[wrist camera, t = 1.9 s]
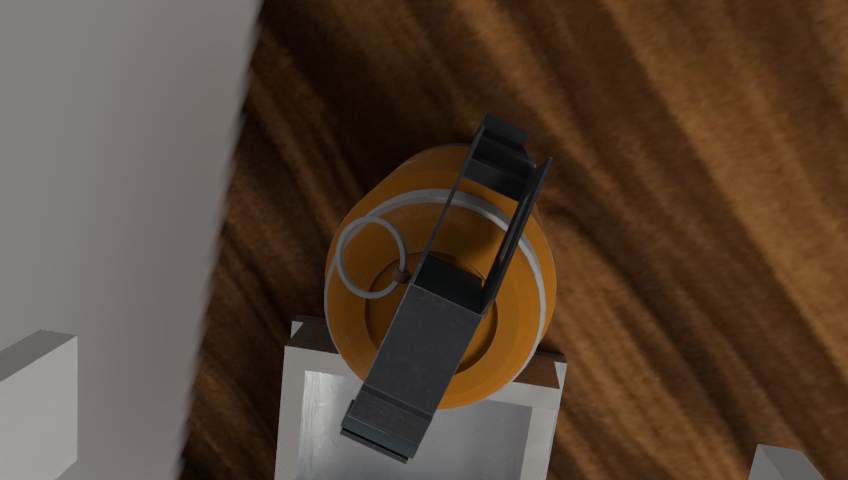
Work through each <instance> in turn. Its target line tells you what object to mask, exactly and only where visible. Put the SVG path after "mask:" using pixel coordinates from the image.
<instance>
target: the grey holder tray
mask: <svg viewBox="0 0 848 480" xmlns="http://www.w3.org/2000/svg"><path fill="white" fill-rule="evenodd" d="M566 368H567V361H566V357H565V355H560V354H554V353H547V352H541V351H535V353H534V355H533V356H532V358H531V359H530V361H529V362H528V364H527V366H526V367H525V368H524V369H523V371H522V372H521V373H520V374H519V375H518V376H517V377H516V378H515V379H514V380H513V381H512V382H511V383H510V384H508V385H507V386H506V387H505V388H503V389H502V390H501V391H499V392H497V393H495V394H494V395H492V396H490V397H488V398H487V399H484V400H481V401H479V402H476V403H474V404H471V405H466V406H462V407H457V408H452V409H437V410H436V412H435V414H434V416H433V419H432V421H431V424H430V426H429V428H428V430H427V432H426V434H425V436H424V438H423V440H422V441H421V443H420V445H419V448H418V450H417V452H416V454H415V456H414V457H413V459H411V458H408V462H407V464H403V463H401V462H399V461H397V460H395V459H393V458H390V457H388V456H386V455H384V454H382V453H380V452H377V451H375V450H373V449H371V448H369V447H367V446H364V445H362V444H360V443H358V442H356V441H354V440H351V439H349V438H347V437H345V436H343V435H341V434H339V433H340V431H341V429H342V427H341V426H340V424H341V422H342V420H343V418H344V416H345V414H346V411H347V409H348V407H349V405H350V403H351V401H352V399H354V400H355V398H356V396H357V394H358V393H359V391H360V389H361V386H362V384H363V381H362V380H360V379H359V378H358V376H357V375H356V374H355V373H354V372H353V371H352V370H351V369H350V368H349V367H348V366H347V364H346V363H345V361H344V360H343V359H342V357H341V356H340V354H339V353H338V351H337V349H336V347H335V345H334V343H333V341H332V338H331V335H330V332H329V329H328V326H327V322H326V318H320V317H314V316H307V315H301V314H298V315H297V316H296V317H295V318H294V319H293V320H292V329H291V339H290V340H289V341H288V343H287V344H286V345H285V352H284V365H283V378H282V391H281V403H280V416H279V429H278V442H277V454H276V467H275V480H546V475H547V469H548V464H549V459H550V453H551V448H552V442H553V437H554V432H555V426H556V421H557V416H558V410H559V405H560V400H561V394H562V389H563V384H564V378H565V373H566Z"/></svg>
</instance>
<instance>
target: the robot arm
mask: <svg viewBox="0 0 848 480" xmlns="http://www.w3.org/2000/svg"><path fill="white" fill-rule="evenodd" d="M76 460H77V335H70V334H64V333H58V332H52V331H45V330H39V331H37V332H35V333H33V334H32V335H30V336H28V337H26V338H24V339H22V340H21V341H19V342H17V343H15V344H13V345H11V346H9V347H8V348H6V349H4V350H2V351H0V480H55V479H56V478H57V477H59V476H60V475H61V474H62V473H63V472H64V471H65V470H66V469H67V468H69V467H70V466H71V465H72V464H73V463H74V462H75V461H76ZM748 480H825V479H824V478H823V477H822V476H821V475H820V473H819V472H818V471H817V470H816V469H815V467H814V466H813V465H812V464H811V463H810V461H809V460H808V459H807V458H806V457H805V455H804V454H803V453H802V452H801V451H799V450H793V449H786V448H780V447H774V446H768V445H761V444H758V445H757V449H756V453H755V457H754V460H753V464H752V468H751V472H750V475H749V479H748Z"/></svg>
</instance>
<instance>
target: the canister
mask: <svg viewBox="0 0 848 480" xmlns="http://www.w3.org/2000/svg"><path fill="white" fill-rule="evenodd" d="M528 135H529V132H527V131H525V130H523V129H520V128H518V127H516V126H514V125H512V124H510V123H508V122H505V121H503V120H501V119H499V118H497V117H495V116H492V115H490V114H488V113H485V115H484V117H483V120H482V122H481V124H480V126H479V128H478V130H477V132H476V134H475V137H474V139H473V141H472V143H471V144H468V143H447V144H439V145H436V146H432V147H429V148H426V149H424V150H422V151H420V152H418V153H416V154H414V155H413V156H411V157H410V158H409V159H407V160H406V161H404V162H403V163H402V164H401V165H400V166H399V167H398V168H396V169H395V170H394V171H393V172H392V173H391V174H390V175H388V176H387V177H386V178H385V179H384V180H383V181H382V182H380V183H379V184H378V185H377V186H376V187H375V188H374V189H372V190H371V191H370V192H369V193H368V194H367V195H366V196H365V197H363V198H362V199H361V200H360V201H359V202H358V203H357V204H356V205H355V206H354V207H353V208H352V209H351V210H350V212H349V213H348V214H347V216H346V217H345V218H344V220H343V221H342V222H341V224H340V226H339V228H338V230H337V232H336V234H335V236H334V237H333V240H332V243H331V246H330V249H329V252H328V256H327V263H326V269H325V290H324V310H325V316H326V322H327V326H328V329H329V332H330V335H331V338H332V341H333V343H334V345H335V347H336V349H337V351H338V353H339V354H340V356H341V357H342V359H343V360H344V361H345V363H346V364H347V366H348V367H349V368H350V369H351V370H352V371H353V372H354V373H355V374H356V375H357V376H358V378H359V379H360V380H362V381H363V384H362V386H361V389H360V391H359V393H358V394H357V396H356V398H355V400H354V399H352V401H351V403H350V405H349V407H348V409H347V411H346V414H345V416H344V418H343V420H342V422H341V424H340V426H341V427H342V429H341V431H340V433H339V434H341V435H343V436H345V437H347V438H349V439H351V440H354V441H356V442H358V443H360V444H362V445H364V446H367V447H369V448H371V449H373V450H375V451H377V452H380V453H382V454H384V455H386V456H388V457H390V458H393V459H395V460H397V461H399V462H401V463H403V464H407V462H408V458H411V459H413V457H414V456H415V454H416V452H417V450H418V448H419V445H420V443H421V441H422V440H423V438H424V436H425V434H426V432H427V430H428V428H429V426H430V424H431V421H432V419H433V416H434V414H435V412H436V410H437V409H452V408H457V407H462V406H466V405H471V404H474V403H476V402H479V401H481V400H484V399H487V398H488V397H490V396H492V395H494V394H495V393H497V392H499V391H501V390H502V389H503V388H505V387H506V386H507V385H508V384H510V383H511V382H512V381H513V380H514V379H515V378H516V377H517V376H518V375H519V374H520V373H521V372H522V371H523V369H524V368H525V367H526V366H527V364H528V362H529V361H530V359H531V358H532V356H533V355H534V353H535V351H536V348H537V346H538V344H539V343H540V341H541V340H542V338H543V336H544V335H545V332H546V330H547V328H548V325H549V323H550V321H551V318H552V314H553V310H554V306H555V300H556V287H557V283H556V271H555V265H554V261H553V257H552V253H551V249H550V246H549V243H548V240H547V237H546V234H545V231H544V228H543V225H542V221H541V218H540V215H539V212H538V209H537V206H536V203H535V201H536V199H537V196H538V194H539V191H540V189H541V187H542V184H543V182H544V179H545V177H546V174H547V172H548V170H549V167H550V165H551V162H552V160H553V157H549V158H548V159H547V160H546V161H545V162H544V163H543V164H542V165H541V166H540V167H539V168H537V169H536V170H535V167H536V165H535V163H534V161H533V158H531V157H530V156H529V154H528V152H527V150H526V147H525V144H526V141H527V138H528Z"/></svg>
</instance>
